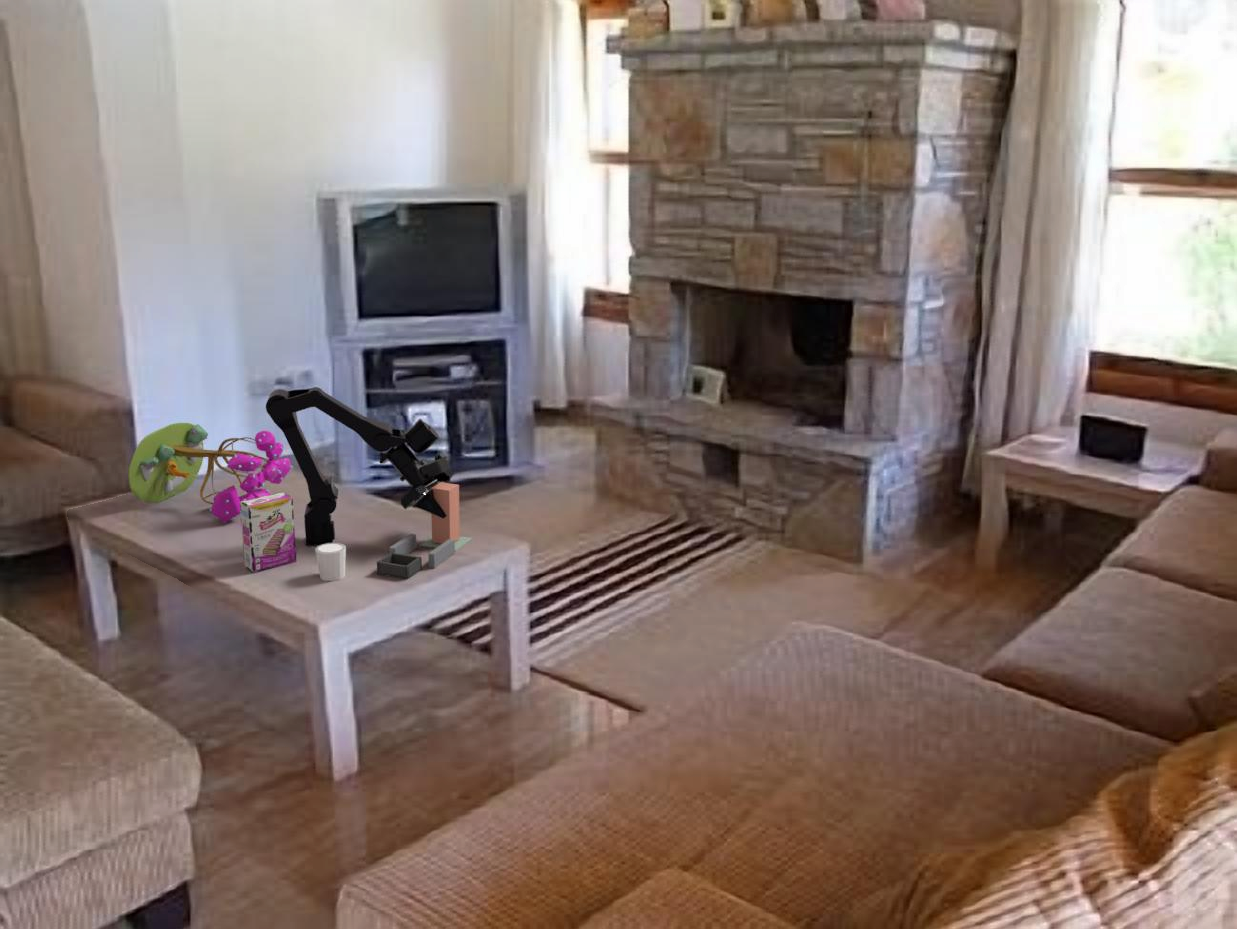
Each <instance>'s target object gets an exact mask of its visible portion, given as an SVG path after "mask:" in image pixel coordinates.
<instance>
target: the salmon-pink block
mask: <svg viewBox="0 0 1237 929" xmlns="http://www.w3.org/2000/svg"><path fill="white" fill-rule="evenodd" d="M432 489H433V494H434V499H435V500H436V501H437V503H438V504H439V505H440V507H441V508H442V509H443V511H444V512H445V514H446V517H445V518H441V517H439V516H437V515H434V514H432V513H430V514H431V537H432V542H436V543H442V544H443V543H444V542H446V541H447V540H448V539H451V540H454V542H455V541H457V540H458V539H459V538H460V534H461V533H460V485H459V484H457V483H456V484H455V483H450V482H449V483H443V482H440V483H439V484H437V485H435V486H434V487H432V488H431V490H432Z"/></svg>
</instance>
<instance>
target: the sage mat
mask: <svg viewBox="0 0 1237 929" xmlns="http://www.w3.org/2000/svg"><path fill="white" fill-rule="evenodd" d="M473 539H474V538H473V537H467V536H460V538H459V539H458V540H457V541H455V542H454V543H455V552H457V551H458V550H460V549H461V548H462V547H464V546H465V545H467V544H468V543H470V542H471V541H472V540H473ZM441 544H442V543H436V542H432V536H430V537H429V538H428V539H426V540H425V541H424V542H422V543H420V544H419V547H427V548H432V547H433V548H432V549H436V548H437V547H438V546H440V545H441Z"/></svg>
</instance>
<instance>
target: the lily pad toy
mask: <svg viewBox="0 0 1237 929" xmlns="http://www.w3.org/2000/svg"><path fill="white" fill-rule="evenodd" d="M208 436H209V433H208V432H207V431H206V430H205V428H203V427H202V426H201V425H200V424H199V423H198V424H197V423H196V424H193V423H189V422H176V423H172V424H169V425H166V426H164V427H162V428H159V429H156V430H154V431H152V432H151V433H148V434H146V436H144V437H143V438H142V440H140V442H139V443H138V445H137V447H136V449H135V451H134V454H133V456H132V459H131V461H130V464H129V466H128V467H129V468H128V472H127V476H128V482H129V488H130V491H131V493H132V494H133V495H134V496H135V497H136V498H137V499H139V500H140V501H143V502H145V503H148V504H156V503H161V502H162V501H164V500H167V499H169V498H171V496H172V497H174V496H176V495H178V494H180V493H182V492H181V491H183V492H184V490H185V491H186V490H188V489H189V488H190V487H191V486H192V484H193V483H194V482H195V481H196V478H197V476H199V475H198V474H199V473H200V470H201V467H202V466H203V461H204V458H205V459H207V469H206V474H205V477H204V479H203V482H202V485H201V487H200V490H199V497H200V499H201V500H202V501H203V502H204V503H206V504H210V505H211V507H210V508H209V510H208V511H209V512H210V513H211V514H212V515H213V519H215V518H218V519H219V520H221V521H222V522H223V523H228V522H230V521H231V520H234V519H235V518H237V517H238V516H241V511H240V502H241V501H246V500H250V499H255V498H260V497H264V496H269V495H272V493H271V491H270V490H268V489H266V488H261V487H264V486H265V485H266V484H265V483H266V481H267V482H270V483H271V484H274V485H279V484H281V483H282V481H283V480H284V479H285V478H286V476H287V475H288V474H289V473H290V471H291V469H293V468H294V466H293V465H291V460H290V458H288V457H285V458H280V456H281V455H282V454H283V450H284V445H283V443H281V442H276V436H275V434H274V433H272V431H269V430H261V431H259V432H257V433H256V434H255V437H254V438H252V437H247V436H245V437H241V438H239V437H231V438H227V439H224V440H223V441H222V442H221V444H220V445H219V447H218V449H217V450H216V449H214V450H212V449H205V448H204V444H205V443H206V441H205V440H207V439H208ZM248 439H249V440H248ZM251 440H253V441H251ZM238 441H244V442H248V443H253V444H255V446H256V449H257V450H259V451H261V452H265V457H266V458H264V457H262V456H260V455H258V454H255V453H253V452H248V451H244V450H235V449H234V443H236V442H238ZM228 442H229V443H228ZM227 443H228V444H227ZM225 444H226V445H225ZM229 446H231V449H227V448H228V447H229ZM219 457H220V458H222V459H223V460H224V462H225V463H226V464H227V468H225V467H223V466H222V465H221V463H219V460H218V458H219ZM228 458H230V459H228ZM267 458H268V459H267ZM278 458H280V459H278ZM263 461H264V462H266V463H264V464H262V463H263ZM215 465H216V466H217V468H219V469H220V470H222V471H224V472H226V473H228V474H230V475H234V476H236V478H237V480H238V482H239V484H240V485H239V488H240V489H241V490H242V491H243V492H246V493H245V494H243V495H240V496H239V493H238V490H237V488H236V486H235V485H234V484H233V485H231V486H229V487H227V488H223V489H222V490H221V491H220V490H218V491H217V492H216V490H215V487H214V471H215V470H214V469H215ZM259 468H260V469H261V470H260V471H259V472H257V473H254V472H255V471H257V469H259ZM229 469H230V470H229ZM241 472H242V473H245V474H248V475H242V474H239V473H241ZM249 472H250V473H249ZM210 475H211V486H212V489H213V493H211V494H208V495H206V496H205V497H204V494H203V493H204V490H205V487H206V485H207V483H208V481H209V478H210ZM240 477H244V480H242V481H241V478H240ZM179 492H180V493H179ZM177 493H178V494H177ZM175 494H176V495H175ZM173 495H174V496H173ZM213 495H215V496H214V497H213V502H212V501H208V500H206V499H207V498H208V497H209V498H210V497H211V496H213Z"/></svg>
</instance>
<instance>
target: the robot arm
mask: <svg viewBox="0 0 1237 929" xmlns="http://www.w3.org/2000/svg"><path fill="white" fill-rule="evenodd" d="M310 408H316V409H318V410H319V411H320V412H322V413H324V414H326V415H327V416H329V417H331V418H332V419H333V420H335V421H337V422H339V423H340V424H343V425H344V426H345V427H347V428H349V429H350V430H352V431H353V432H355V433H356V434H357V435H358V436H359V437H360V438H361V439H362V440H363V441H364V442H365V443H366V444H367V446H368V445H369V447H370V448H372V449H373V450H374V451H376V452H379V455H380V457H379V464H381V465H383V464H386V463H387V462H389V463H390V464H391V465H392V466H393V467H394V469H395V470H396V471H397V472H398V473H399V474H400V475H401V477H399V479H400V481H401V483H403V482H404V481H405V482H407V483H408V485H409V487H410V488H409V489H408V490H407V491H406V492H405V493H404V494H403V495H402V496H401V497H400V498H399V505H400V506H402V508H403V509H404V510H407V509H408V508H410V507H413V508H417V509H420V510H423V511H426V512H428V513H430V514H431V513H432V514H434V515H437V516H439V517H441V518H445V517H446V514H445V512H444V511H443V509H442V508H441V507H440V505H439V504H438V503H437V501H436V500H435V499H434V494H433V489H432V490H431V488H432V487H434V486H435V485H437V484H439V483H440V482H443V483H450V482H451V479H453V477H454V476H455V475H456V473H455V472H454V471H453V470H452V468H451V467H450V465H449V464H450V462H451V460H450V458H449V457H448V456H447V455H446V454H445V453H444V452H441V453H438V454H437V455H435V456H434V460H432V461H431V462H427V461H426V459H421V460H420V459H419V458H418V457H417V456H416V455H415V454H417V453H418V454H424V453H425V452H426V451H427V450H428V449H430V448H431V447H432V446H433V445H434V444H435V443H436V442H438V441H439V440H440V438H441V437H440V436H439V434H438V433H437V431H436V430H435V429H434V428H433V426H432V425H431V424H428V423H426V421H423V419H421V418H419V419H418V420H417V421H416V422H415V423H414V424H413V425H412V426H411V427H410V428H408V429H407V431H406V430H405V429H398V428H394V427H393V428H392V427H391V426H390V425H389V424H387V423H385V422H382V421H380V420H377V419H374V418H370V417H368V416H364V415H363V414H360V413H359V412H358V411H356V410H354V409H353V408H351V407H349V406H348V405H346V404H344V403H342V402H341V401H340V400H338V399H336V398H335V397H333V396H331V395H330V394H328V393H327V392H325V391H324V390H323V389H322V388H320V387H318V386H313V387H310V388H302V389H301V388H300V389H292V390H285V389H281V388H280V389H275V390H273V391H272V392H271V393H270V394H269V396H268V398H267V400H266V404H265V410H266V413H267V414H268V415H269V417H270V418H271V420H272V422H274V424H275V425H276V426H277V427H278V428H279V430H281V431H282V433H283V436H284V437H285V439H286V441H287V444H288V445H289V448H290V450H291V452H292V453H293V456H294V458H295V460H296V462H297V464H298V466H299V469H300V470H301V473H302V474H303V478H304V479H305V482H306V484H307V489H308V494H309V499H310V501H308V503H307V504H306V506H305V511H304V516H303V517H304V518H303V519H304V520H303V521H304V534H305V541H304V542H305V543H304V546H305V547H306V546H307V547H310V546H311V547H312V546H320V545H322V544H326V543H334V542H333V541H334V540H335V538H336V530H335V528H336V527H335V521H334V520H332V519H333V518H332V514H333V513H334V512H335V510H336V508H337V504H338V498H339V488H337V487H336V485H335V482H334V479H333V476H330V477H329V478H326V476H325V475H324V473H322V470H321V469H320V467H319V465H318V462H317V461H316V458H315V456H314V454H313V451H312V449H311V448H310V446H309V444H308V441H307V439H306V437H305V435H304V432H303V430H302V428H301V426H300V424H299V420H298V416H297V415H298V414H297V413H298V412H301V411H304V410H306V409H310ZM414 453H415V454H414ZM413 502H415V503H414V504H413Z"/></svg>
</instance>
